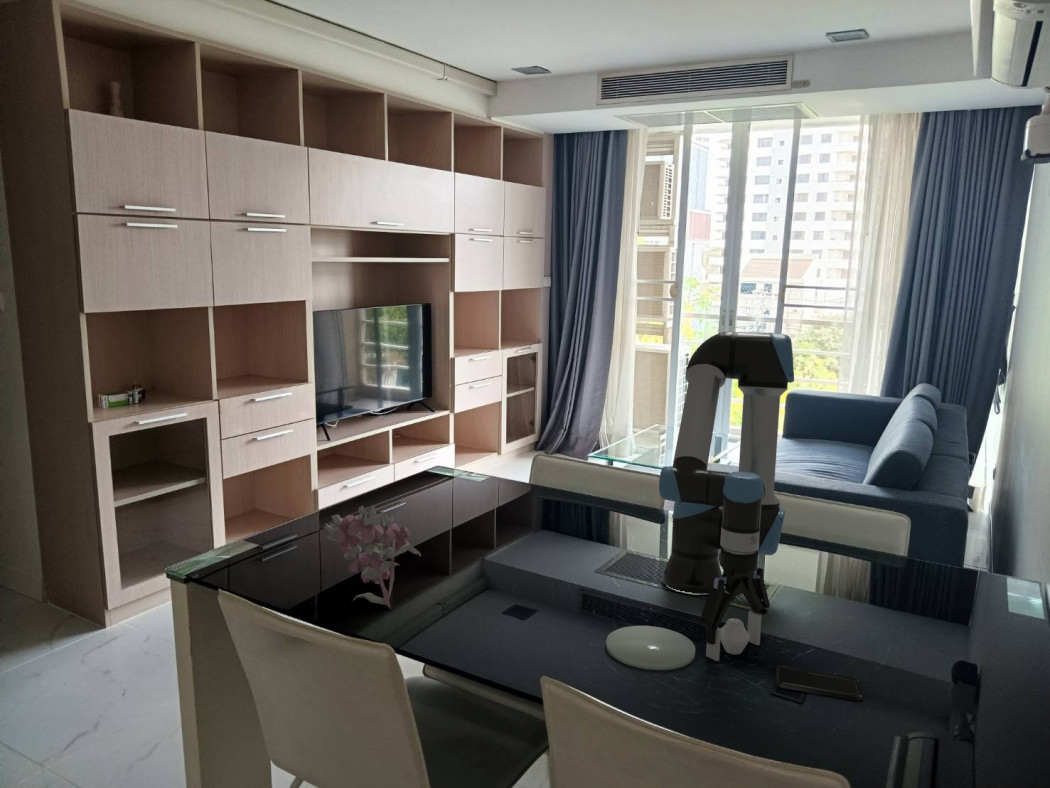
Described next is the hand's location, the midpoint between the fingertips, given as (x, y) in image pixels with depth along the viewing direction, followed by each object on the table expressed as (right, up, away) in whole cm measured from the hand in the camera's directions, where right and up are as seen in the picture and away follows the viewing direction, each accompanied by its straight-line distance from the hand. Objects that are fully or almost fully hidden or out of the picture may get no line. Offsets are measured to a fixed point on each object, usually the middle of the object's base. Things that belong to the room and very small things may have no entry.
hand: (733, 650), depth 157 cm
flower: (-80, +5, +27) cm, 84 cm away
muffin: (0, 0, 0) cm, 0 cm away
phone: (+12, -3, -13) cm, 18 cm away
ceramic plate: (-17, 0, 0) cm, 17 cm away
